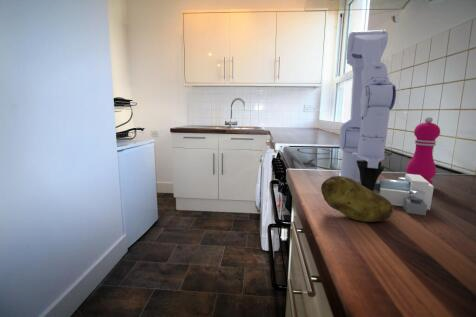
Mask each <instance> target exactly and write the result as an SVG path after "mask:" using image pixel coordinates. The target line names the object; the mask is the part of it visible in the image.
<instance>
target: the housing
mask: <svg viewBox="0 0 476 317" xmlns="http://www.w3.org/2000/svg"><path fill="white" fill-rule="evenodd" d="M404 177H405V181H408V182H411V186H410V190H419V191H423V192H425V197H424V202H418V203H414V202H413V201H412V200H409V199H408V196H409V191H403V190H394V189H386V188H380V192H379V195H381V196H383V197H384V198H386V199H387V200H388V201H389V202H390V203H391V204H392V206H397V207H402V208H403V209H404V211H405V213H406V214H413V215H418V216H426V215H427V211H431V205H432V199H433V196H434V195H433V193H434V189H435V187H434V185H433V184H432V185H431V184H430V183H429V182H428V181H427V180H425V179H424V178H423V177H422V176H420V175H414V174H407V173H405V175H404ZM377 182H378V183H379V181H377ZM374 192H375V193H377V194H378V190H375V191H374Z"/></svg>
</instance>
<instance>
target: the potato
mask: <svg viewBox="0 0 476 317" xmlns="http://www.w3.org/2000/svg"><path fill="white" fill-rule="evenodd" d="M320 190H321V195H322V197H323V200H324V202H326V203H327V205H328V207H330V208H332V209H334V210H336V211H338V212H339V213H341V214H343V215H344V216H345V217H347V218H349V219H351V220H355V221H358V222H365V223H369V222H371V223H375V222H381V221H385V220H388V219H389V218H390V217H391V215H392V213H393V205H392V204H391V203H390V202H389V201H388V200H387V199H386V198H384V197H383V196H381V195H379V194H377V193H375V192H376V191H374V190H373V191H371V190H369V189H368V188H366V187H364V186H362V185H361V184H360V183H358V182H356V181H355V180H353V179H351V178H348V177H343V176H339V175H333V176H330V177H329V178H327V179H326V180H324V181H323V182H322V183H321V188H320Z"/></svg>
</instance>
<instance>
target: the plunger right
mask: <svg viewBox="0 0 476 317" xmlns="http://www.w3.org/2000/svg"><path fill="white" fill-rule="evenodd" d="M424 197H425V192H423V191H419V190H409V196H408V199H409V200H412V201H413V202H414V203H418V202H424Z"/></svg>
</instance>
